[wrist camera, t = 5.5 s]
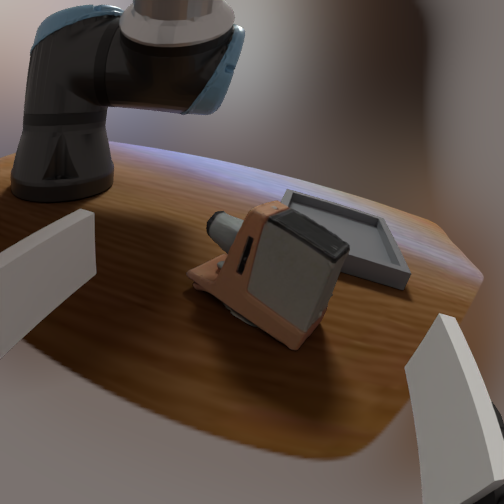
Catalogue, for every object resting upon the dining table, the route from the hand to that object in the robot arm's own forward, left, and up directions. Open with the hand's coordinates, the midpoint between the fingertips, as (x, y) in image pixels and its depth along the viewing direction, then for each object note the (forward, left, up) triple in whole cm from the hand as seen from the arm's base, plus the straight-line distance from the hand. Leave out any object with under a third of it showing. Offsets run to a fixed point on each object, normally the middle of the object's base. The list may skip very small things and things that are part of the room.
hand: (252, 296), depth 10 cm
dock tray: (+6, +27, -7) cm, 29 cm away
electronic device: (-1, +9, -8) cm, 12 cm away
